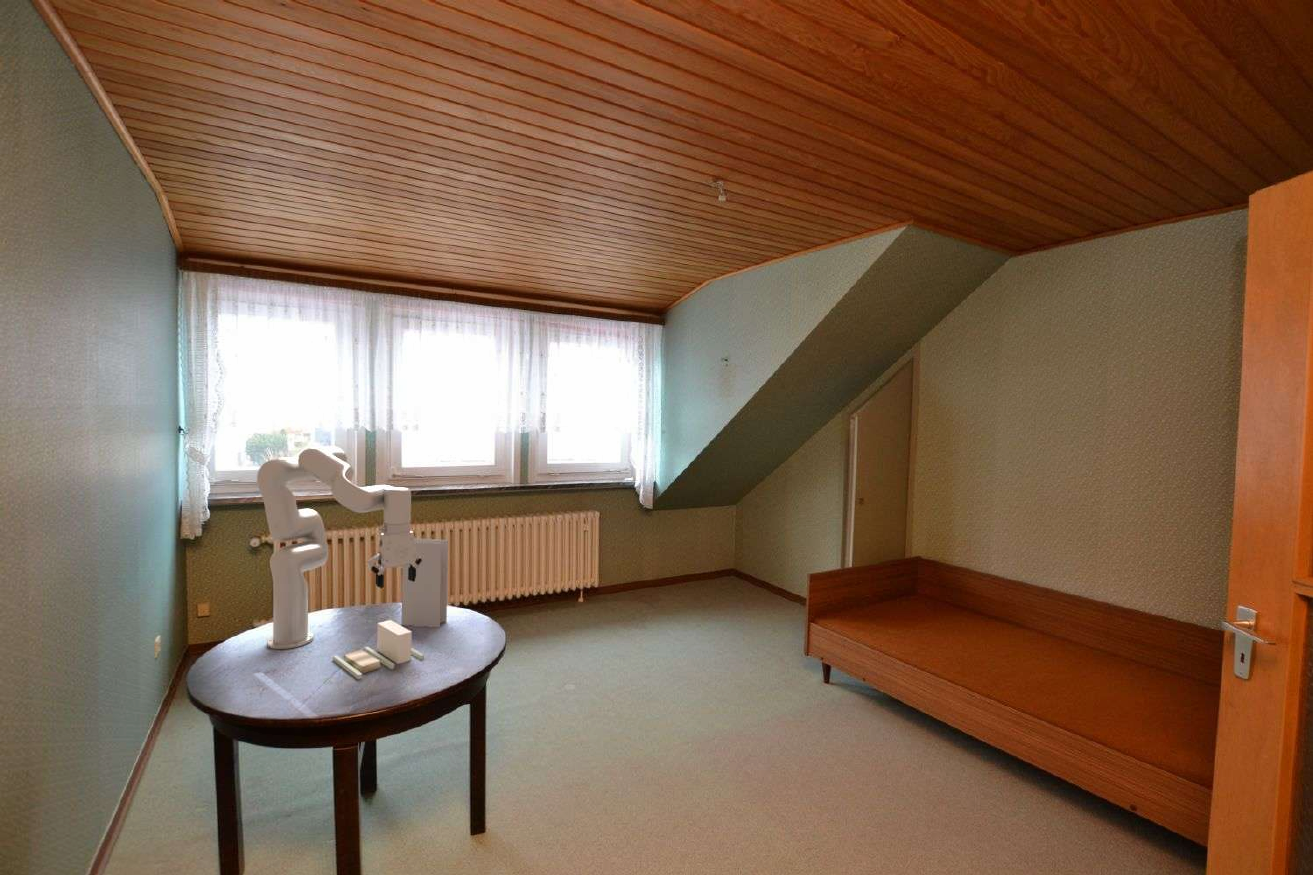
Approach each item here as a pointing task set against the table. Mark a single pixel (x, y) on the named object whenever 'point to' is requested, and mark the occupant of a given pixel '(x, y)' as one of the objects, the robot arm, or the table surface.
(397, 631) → the cream rectangular block
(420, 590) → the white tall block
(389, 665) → the rack
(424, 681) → the table surface
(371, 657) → the offcut upper
